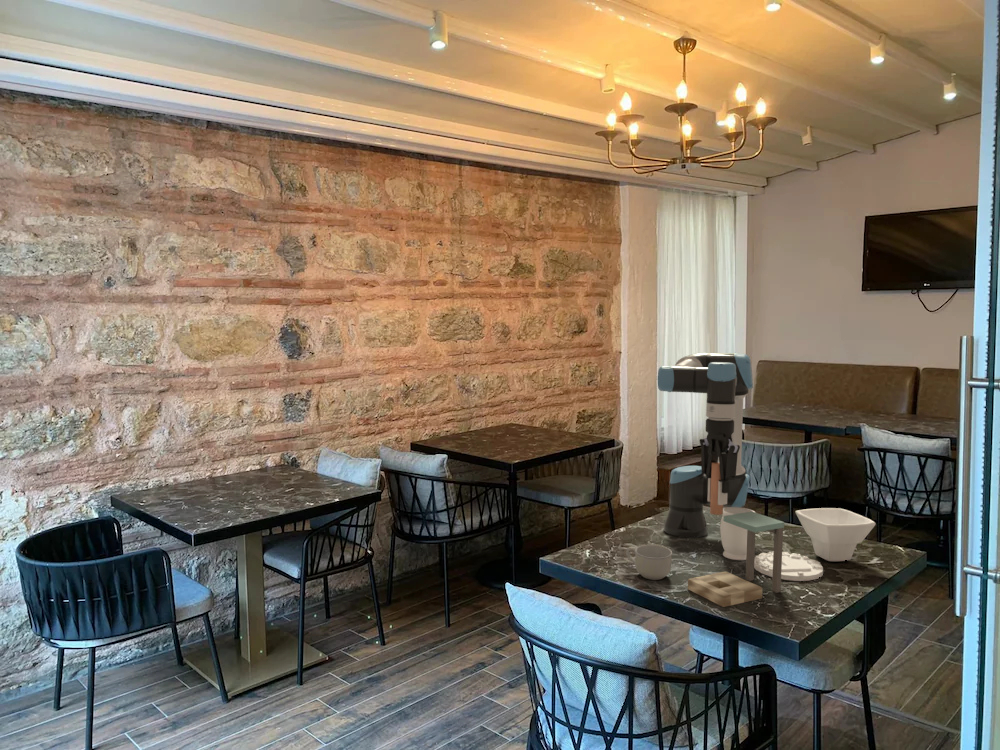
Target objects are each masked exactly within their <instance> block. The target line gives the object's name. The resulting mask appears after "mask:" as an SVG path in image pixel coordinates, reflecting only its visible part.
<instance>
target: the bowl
mask: <svg viewBox="0 0 1000 750" xmlns="http://www.w3.org/2000/svg"><path fill="white" fill-rule="evenodd" d="M795 515H796V516H797V518H798V520H799V523H800V524H801V526H802V528H803V530H804V531H805V533H806V534H807V535H808V536H809V537H810V540H811V543H812V547H813V551H814V554H815V555H816V556H818V557H820V558H822V559H824V560H825V561H828V562H845V560H847V561H851V559H852V557H853V554H854V552H855V551H856V548H857V545H858V544H859V543H862V542H863V541H864V540H865V539H866V537H867V536H868V535H869V534H870V532H871V531H872V530H873V529H874V528H875V526H876V522H875V521H874V520H872V519H870V518H868V517H866V516H864V515H861V514H859V513H856V512H853V511H851V510H848V509H844V508H841V507H838V508H836V507H821V508H820V507H819V508H806V509H799V510H795Z"/></svg>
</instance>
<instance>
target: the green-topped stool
mask: <svg viewBox="0 0 1000 750" xmlns="http://www.w3.org/2000/svg"><path fill="white" fill-rule="evenodd" d="M723 521H724V522H727V523H730V524H733V525H735V526H738V527H741V528H744V529H747V554H746V560H745V580H746V581H749V582H751V581H754V580H755V579H754V578H755V568H754V559H755V557H756V555H755V554H756V552H755V551H756V533H761V532H768V533H771V534H773V551H774V553H773V577H771V578H772V580H771V581H772V582H771V583H772V584H771V591H772V592H774V593H776V594H777V593H780V592H782V590H781V589H782V587H781V586H782V579H781V569H782V552H783V542H784V528H785V522H784V521H782V520H779V519H776V518H774V517H773V518H772V517H769V516H767V515H764V514H761V513H758V512H756V511H755V512H746V513H740V514H733V515H727V516H724V519H723Z"/></svg>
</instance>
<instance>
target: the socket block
mask: <svg viewBox="0 0 1000 750" xmlns="http://www.w3.org/2000/svg"><path fill="white" fill-rule="evenodd" d="M687 590H689V591H691V592H692V593H694V594H696V595H698V596H701V597H702V598H705V599H707V600H708V601H710V602H713V603H714V604H716V605H717V606H721V607H723V608H725V607H729V606H734V605H739V604H743V603H747V602H752V601H756V600H760V599H763V587H761V586H759V585H758V584H755V583H752V582H751V581H749V580H746V579H743V578H742V577H740V576H737V575H735V574H733V573H730V572H728V571H726V570H725V571H721V572H715V573H710V574H706V575H702V576H696V577H695V576H694V577H690V578H687Z"/></svg>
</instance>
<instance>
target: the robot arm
mask: <svg viewBox="0 0 1000 750" xmlns="http://www.w3.org/2000/svg"><path fill="white" fill-rule="evenodd" d="M752 369H753V368H752V361H751V358H750V356H749V355H748V354H746V353H739V352H738V353H736V352H697V353H693V354H689V355H686V356H683V357H681V358H680V359H678V360H677V361H676V363H675V364H674V366H673V365H661V366H660V367H659V368H658V370H657V389H658V390H659V391H661V392H667V393H694V394H706V409H705V416H706V417H707V418H706V419H705V432H706V433H707V435H706V437H705V438H700V439H699V444H700V451H701V454H700V456H701V457H700V459H701V463H700V464H701V465H683V466H678V467H676V468H673V469H672V470H671V472H670V476H669V477H670V480H669V508H668V509H669V510H668V512H667V515H666V518H665V520H664V523H663V531H664V532H665V533H666V534H669V535H670V536H671V535H672V536H674V537H680V538H687V539H688V538H702V537H704V536H707V534H708V528H709V527H708V525H707V521H706V519H705V514H704V506H706V505H707V506H710V501H711V470H712V463H713V462H719V465H720V477H721V480H719V481H718V505H723V508H726V507H741V508H744V506H746V505H745V504H746V502H747V497H748V491H749V484H750V475H749V474H748V473H746V471H747V470H746V468H745V467H744V466H743V465H742V453H743V452H742V449H743V447H742V446H743V444H742V443H743V418H744V417H743V416H744V413H743V412H744V398H745V397H746V396H748V395H749V390H752V389H753V388H754V383H753V381H754V379H753V370H752Z"/></svg>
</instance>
